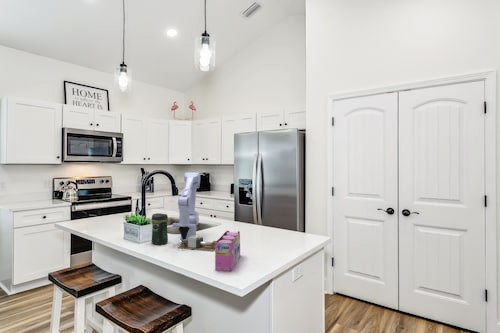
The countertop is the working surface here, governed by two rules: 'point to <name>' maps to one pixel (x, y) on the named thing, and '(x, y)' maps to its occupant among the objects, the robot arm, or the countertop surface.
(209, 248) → the pipe stand
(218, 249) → the gum box
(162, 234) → the coffee jar
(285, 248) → the countertop surface
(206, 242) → the pipe
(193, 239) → the sleeve
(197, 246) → the nut
